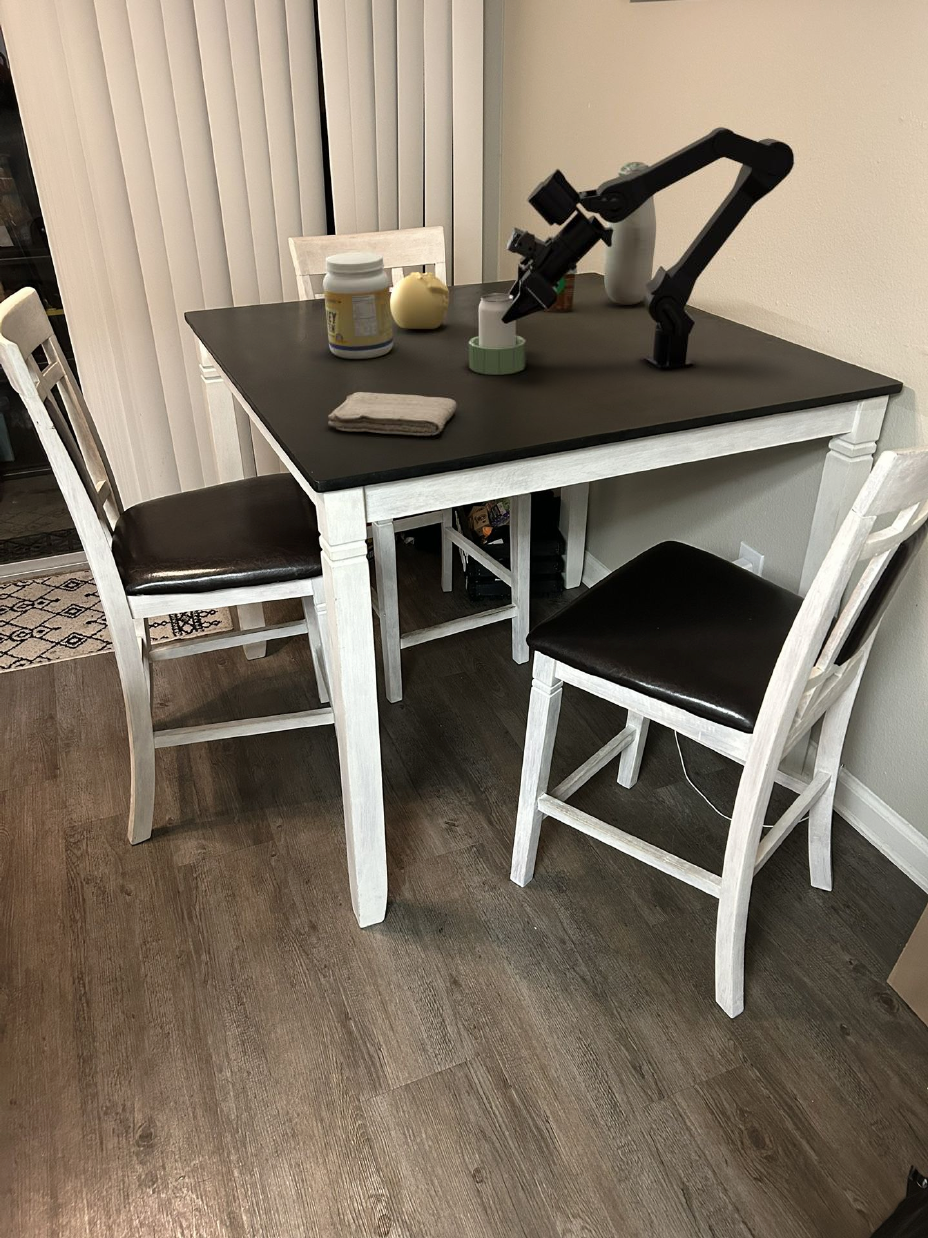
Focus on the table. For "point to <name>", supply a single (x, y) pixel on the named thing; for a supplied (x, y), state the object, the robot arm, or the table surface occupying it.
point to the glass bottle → (631, 250)
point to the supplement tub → (358, 305)
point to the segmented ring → (497, 358)
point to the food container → (564, 293)
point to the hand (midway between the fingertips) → (502, 314)
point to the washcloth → (393, 414)
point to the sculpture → (419, 301)
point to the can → (496, 322)
